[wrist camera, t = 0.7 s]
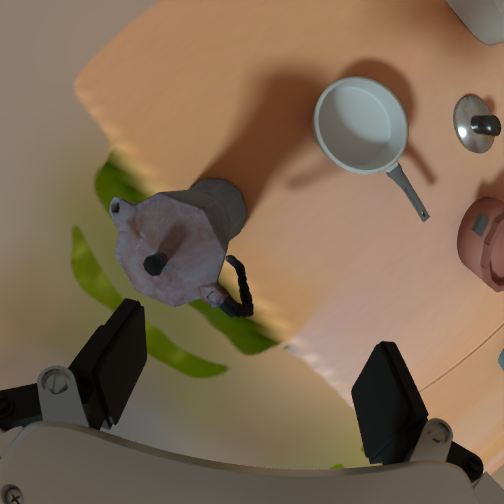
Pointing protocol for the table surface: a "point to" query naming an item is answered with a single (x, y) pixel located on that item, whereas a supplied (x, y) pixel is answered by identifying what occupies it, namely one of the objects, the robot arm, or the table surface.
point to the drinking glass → (501, 359)
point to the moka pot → (183, 244)
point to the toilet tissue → (482, 18)
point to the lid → (475, 124)
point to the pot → (484, 241)
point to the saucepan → (364, 130)
